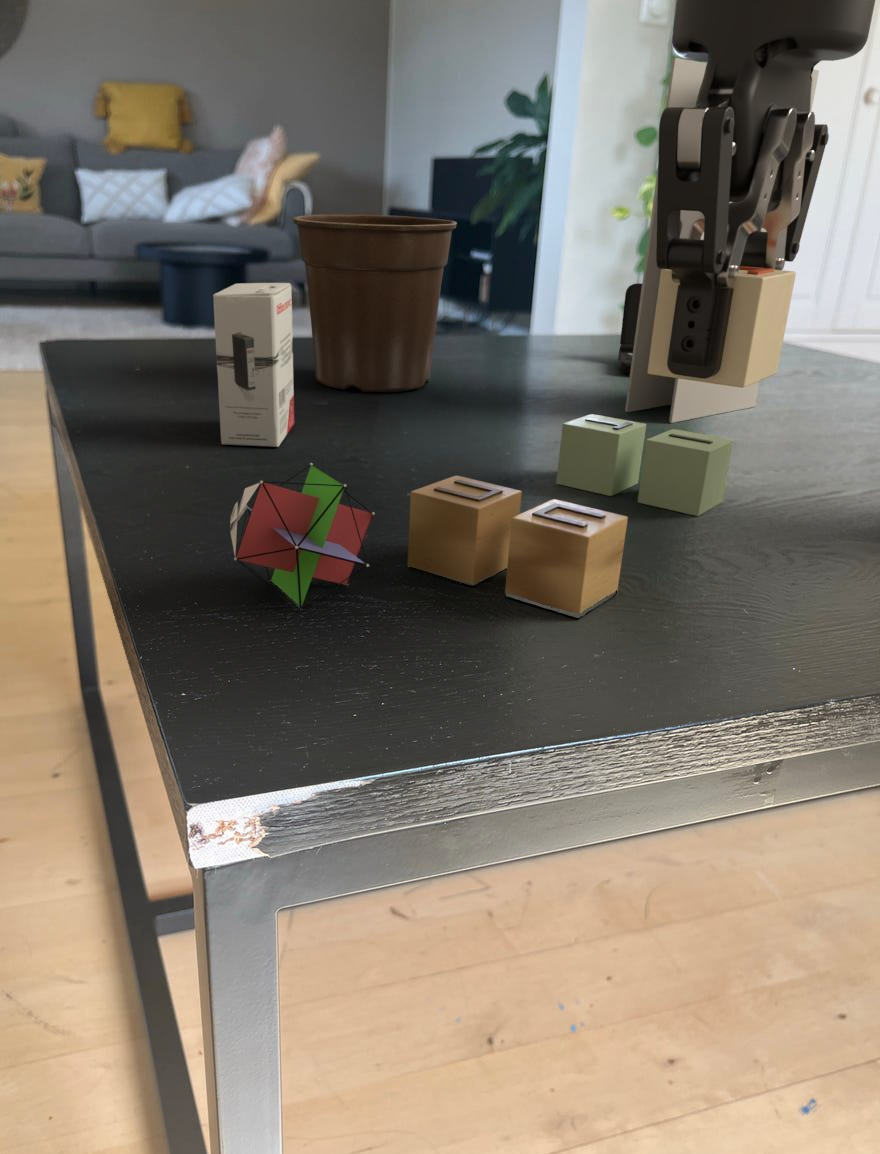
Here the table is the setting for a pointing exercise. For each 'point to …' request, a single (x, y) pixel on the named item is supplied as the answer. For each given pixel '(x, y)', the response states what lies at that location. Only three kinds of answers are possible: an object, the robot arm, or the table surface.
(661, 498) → the letter i
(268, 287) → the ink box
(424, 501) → the tan cube
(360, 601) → the table surface
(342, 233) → the plant pot
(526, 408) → the table surface
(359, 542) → the geometric puzzle
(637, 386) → the brochure
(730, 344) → the cream letter block
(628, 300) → the game console
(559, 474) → the green cube
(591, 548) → the letter u
